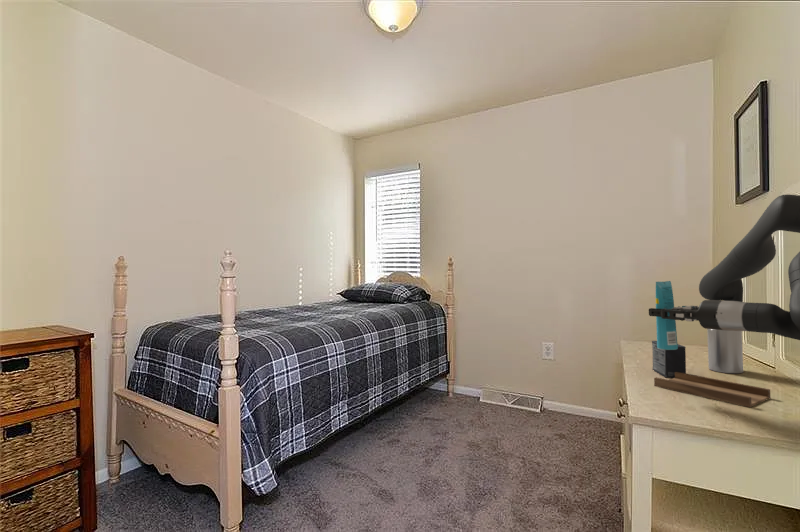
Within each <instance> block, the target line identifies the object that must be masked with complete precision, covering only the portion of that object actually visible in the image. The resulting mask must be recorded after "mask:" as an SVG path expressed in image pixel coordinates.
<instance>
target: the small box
mask: <svg viewBox="0 0 800 532" xmlns="http://www.w3.org/2000/svg"><path fill="white" fill-rule="evenodd" d="M677 344H678V349H676V350H662V349H658V348H657V340H651V346H652V347H651V348H652V371H653V370H654V372H655V373H657V374H658V373H659V374H658V375H660V376H662V377H664V378H666V379H667V378H669V379H673V378H675V372H681V373H686V374H687V365H686V363H687V362H686V361H687V359H686V358H687V357H686V356H687V353H686V346H685V345H682V344H679V343H677Z"/></svg>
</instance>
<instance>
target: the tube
mask: <svg viewBox="0 0 800 532" xmlns="http://www.w3.org/2000/svg"><path fill="white" fill-rule="evenodd" d="M673 291H674V290H673V286H672V281H671V280H666V281H655V308H657V309H664V308H666V309H672V308H673V307H675V301H674V293H673ZM668 316H669V312H668ZM655 318H656V319H655V320H656V322H655V323H656V341H657V348H658V349H662V350H676V349H678V344H679V343H678V334H677V332H678V331H677V324H676V323H677V322H676V321H677V320H673V319H662V317H656V316H655Z"/></svg>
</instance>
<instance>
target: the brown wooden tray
mask: <svg viewBox="0 0 800 532" xmlns="http://www.w3.org/2000/svg"><path fill="white" fill-rule="evenodd" d="M653 383H654V387H658V388H663V389H666V390H670V391H676V392H679V393H685V394H689V395H693V396H698V397H701V396H702V397H703V398H706V399H711V400H714V401H715V400H716V401H719V402H723V401H724V402H723V403H728V402H729V403H728V404H732V403H733V405H738V406H741V405H742V407H745V406H746V408H751V407H753V406H756V405H759V404H761V403H763V402H765V400H766V399H768V400H770V399H771V398H772V397H771V389H769V388H766V387H760V386H754V385H749V384H744V383H740V382H739V383H737V382H732V381H729V380H722V379H718V378H713V377H705V376H701V375H695V374H691V373H687V372H686V373H681V372H675V378H669V379H667V378H666V379H665V378H661V377H657V376H656V377H654V381H653ZM702 397H701V398H702ZM769 398H770V399H769ZM766 401H767V400H766ZM760 402H761V403H760ZM758 403H759V404H758Z"/></svg>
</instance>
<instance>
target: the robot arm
mask: <svg viewBox="0 0 800 532" xmlns="http://www.w3.org/2000/svg"><path fill="white" fill-rule="evenodd" d="M779 231H782V232H783V231H784V232H792V233H797V234H800V195H798V194H782V195H781V194H780V195H778V196H777V197H775V199H773V200H772V201H771V202H770V203H769V205H768V206H767V207H766V209H765V210H764V212H763V213H762V214H761V216H759V218H758V220H757V221H756V222H755V224H754V225H753V226H752V228H751V229H750V230H749V231H748V233H747V234H745V236H744V237H743V238H742V239H741V240H740V241H739V242H737V244H736V245H735V246H733V248H732V249H731V250H730V252H729V253H727V255H726V256H725V257H724V258H723V259H722V260H721V261H720V262H718V264H717V265H716V266H715V267H713V268H712V269H711V270H709V271H708V272H707V273H706V274H705V275H704V276H702V278H701V279H700V281H699V284H698V291H699V294H700V296H701V297H702V298H703V299H704V300H702V301H701V302H700V304H699V305H682V306H679V305H678V306H674V307H673V308H672V309H666V308H664V309H657V308H656V307H655V308H654V307H650V308H648V316H649V317H655V318H656V317H662V319H673V320H675V321H681V322H683V321H686V322H697V321H698V323H699V325H700V326H701V327H702V328H704V329H706V331H707V332H706V333H707V355H708V356H707V359H708V361H707V362H708V369H709V370H711V371H713V372H718V373H725V374H742V373H744V354H743V353H744V352H743V332H751V333H762V334H763V333H765V334H773V335H777V336H781V337H784V338H789V339H793V340H798V341H800V251H799V252H798V253H796V255H795V256H793V258H792V260H791V261H790V263H789V265H788V269H787V272H788V274H787V275H788V281H789V282H788V283H789V289H790V298H789V305H788V307H789V308H788V309H789V311H787V310H785V309H783V308H782V307H780V306H779V305H777V304H774V303H767V302H765V303H764V302H745V301H744V297H743V296H744V283H743V280H742V279H744V278H748V277H750V276H752V275H755V274H757V273H759V272H760V271H762V270H763V269H765V267H767V266H769V264H770V263H771V262H772V261H773V260H774V259H775V257H776V253H777V248H776V245H775V241H774V239H773V236H772V235H773V234H774V233H775V232H779ZM668 312H669V316H668Z"/></svg>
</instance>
